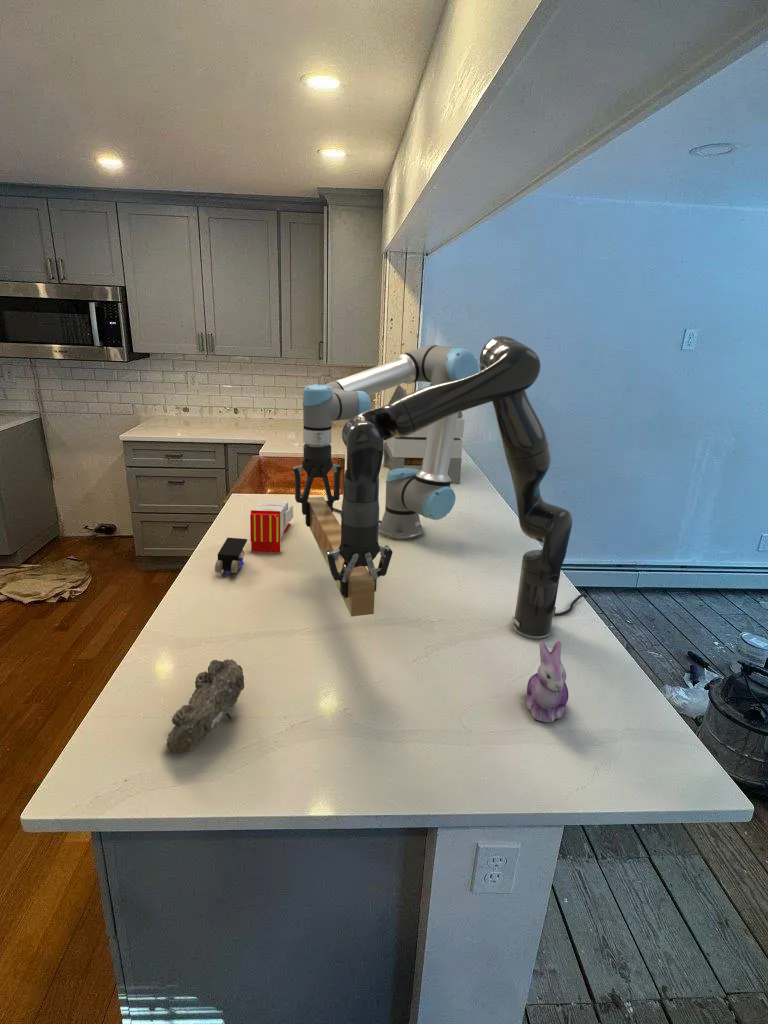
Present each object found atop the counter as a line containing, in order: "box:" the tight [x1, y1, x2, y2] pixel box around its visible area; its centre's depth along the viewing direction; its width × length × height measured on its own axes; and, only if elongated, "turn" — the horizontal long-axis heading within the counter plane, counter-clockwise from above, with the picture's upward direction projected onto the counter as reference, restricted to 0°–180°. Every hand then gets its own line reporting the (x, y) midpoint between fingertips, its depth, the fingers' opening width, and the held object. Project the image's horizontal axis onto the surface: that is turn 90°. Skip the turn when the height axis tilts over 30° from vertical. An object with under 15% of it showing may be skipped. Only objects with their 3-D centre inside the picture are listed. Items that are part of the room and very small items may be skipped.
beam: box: [307, 496, 376, 617], centre depth 139 cm, size 55×5×7 cm, turn 17°
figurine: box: [525, 640, 570, 723], centre depth 112 cm, size 9×10×15 cm
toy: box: [249, 500, 294, 554], centre depth 191 cm, size 12×13×30 cm
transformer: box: [382, 384, 465, 484], centre depth 268 cm, size 34×33×41 cm
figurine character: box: [214, 537, 248, 578], centre depth 166 cm, size 7×8×15 cm
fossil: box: [166, 658, 245, 754], centre depth 106 cm, size 22×10×15 cm
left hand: (317, 524), depth 161 cm, fingers closed on beam, 5 cm apart
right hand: (358, 594), depth 118 cm, fingers closed on beam, 4 cm apart
